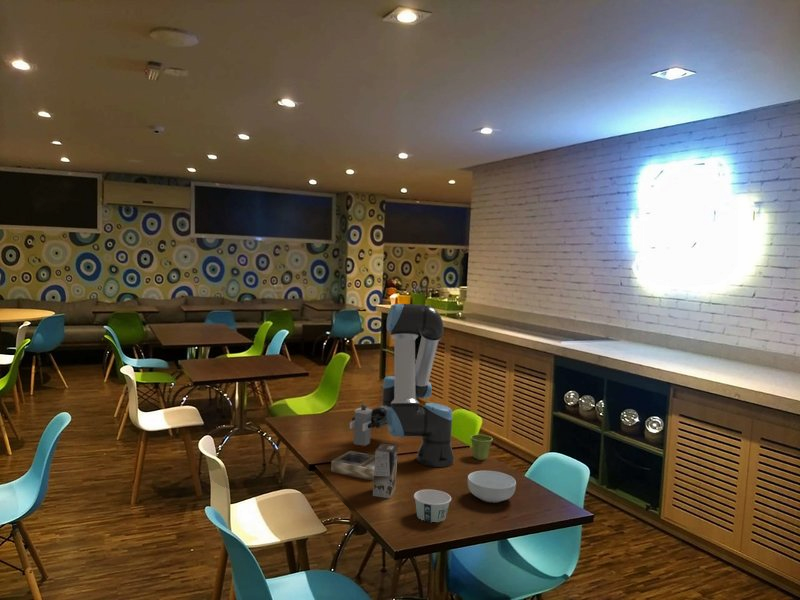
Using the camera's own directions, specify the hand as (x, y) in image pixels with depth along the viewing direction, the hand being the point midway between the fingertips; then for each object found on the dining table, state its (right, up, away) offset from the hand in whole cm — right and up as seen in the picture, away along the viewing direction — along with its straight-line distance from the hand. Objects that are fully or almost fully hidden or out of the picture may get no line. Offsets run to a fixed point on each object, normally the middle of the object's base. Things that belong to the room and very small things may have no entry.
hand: (357, 426), depth 239 cm
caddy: (+2, -15, -10) cm, 18 cm away
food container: (+27, -19, -49) cm, 59 cm away
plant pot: (+51, -16, +14) cm, 56 cm away
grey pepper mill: (+2, -8, +5) cm, 10 cm away
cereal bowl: (+49, -19, -31) cm, 61 cm away
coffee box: (+12, -17, -32) cm, 38 cm away
